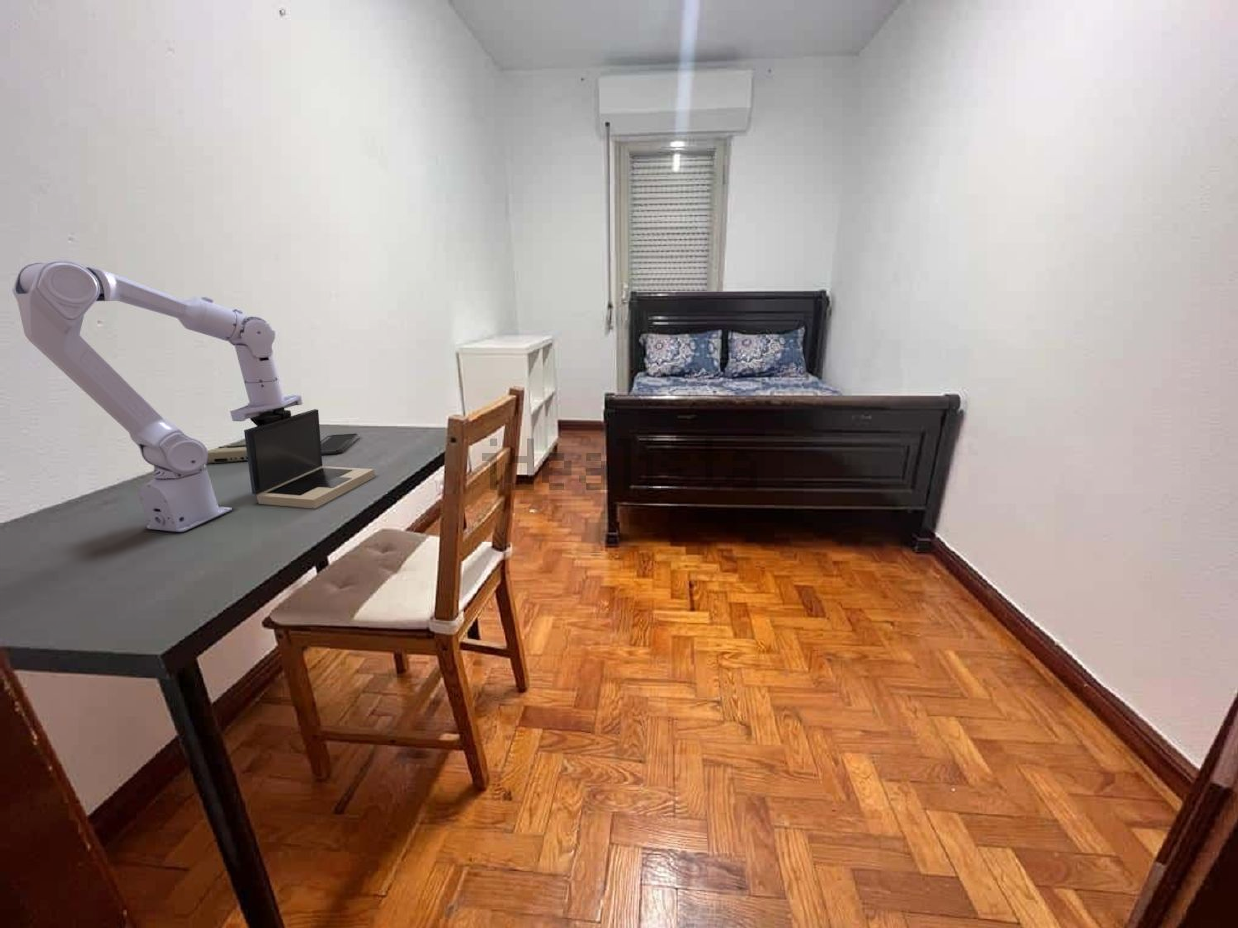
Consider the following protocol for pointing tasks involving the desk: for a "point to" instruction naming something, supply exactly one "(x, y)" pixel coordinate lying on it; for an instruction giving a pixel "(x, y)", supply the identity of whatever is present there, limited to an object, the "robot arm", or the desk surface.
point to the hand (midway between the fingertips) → (278, 447)
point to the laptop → (316, 487)
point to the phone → (337, 443)
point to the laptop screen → (283, 450)
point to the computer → (227, 453)
